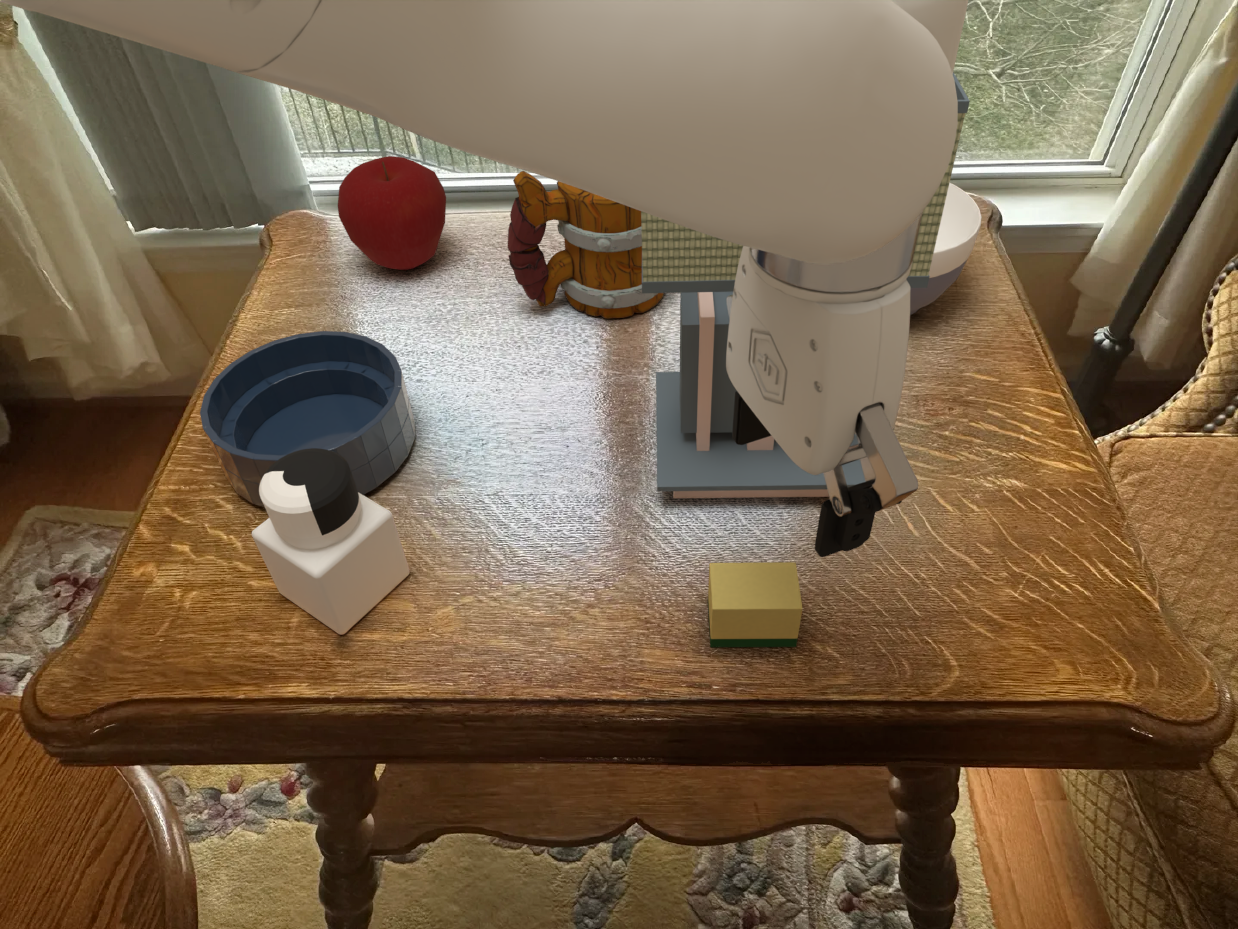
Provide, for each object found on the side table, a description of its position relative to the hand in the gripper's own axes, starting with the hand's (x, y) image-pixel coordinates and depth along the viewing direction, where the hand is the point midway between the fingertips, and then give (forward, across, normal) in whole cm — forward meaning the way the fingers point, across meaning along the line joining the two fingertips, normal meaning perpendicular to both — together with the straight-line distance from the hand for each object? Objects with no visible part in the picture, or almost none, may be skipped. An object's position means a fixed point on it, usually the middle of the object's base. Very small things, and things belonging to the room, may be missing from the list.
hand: (796, 488), depth 55 cm
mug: (+16, -44, +4) cm, 47 cm away
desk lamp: (+16, -18, +8) cm, 25 cm away
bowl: (+16, -32, +30) cm, 47 cm away
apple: (+16, -59, -12) cm, 63 cm away
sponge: (+16, -2, -1) cm, 16 cm away
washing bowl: (+16, -33, -26) cm, 45 cm away
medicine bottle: (+16, -18, -27) cm, 36 cm away
